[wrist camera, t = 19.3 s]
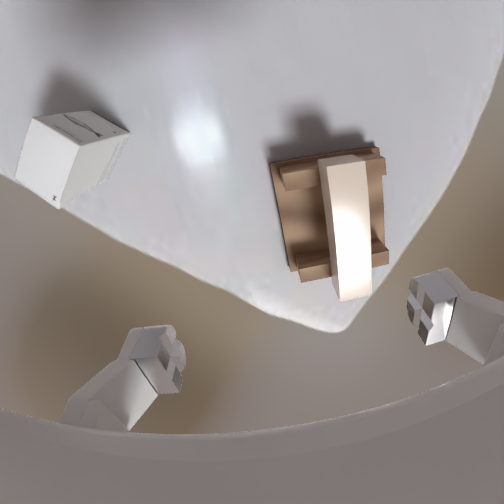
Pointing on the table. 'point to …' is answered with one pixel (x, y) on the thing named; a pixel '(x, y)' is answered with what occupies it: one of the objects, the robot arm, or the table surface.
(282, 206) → the ridged wooden base
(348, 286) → the beige rectangular bar
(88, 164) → the supplement box
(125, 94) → the table surface
